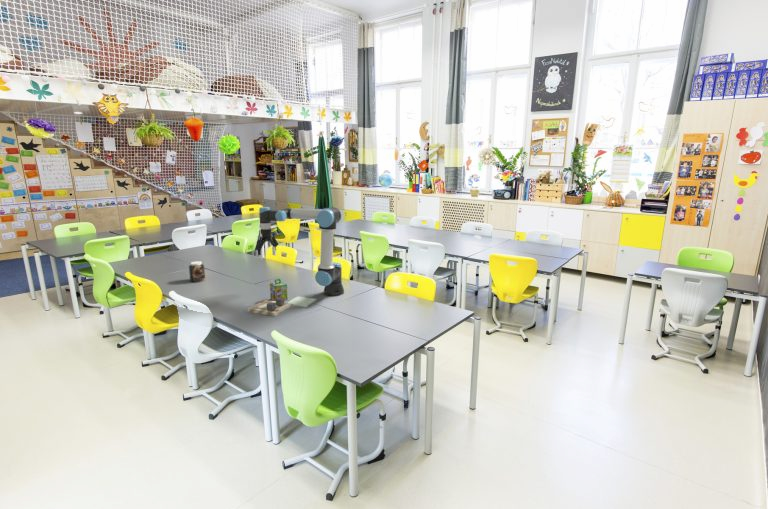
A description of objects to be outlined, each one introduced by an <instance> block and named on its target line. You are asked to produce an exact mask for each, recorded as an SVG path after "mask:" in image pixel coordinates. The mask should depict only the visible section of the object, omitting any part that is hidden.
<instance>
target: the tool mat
mask: <svg viewBox="0 0 768 509" xmlns="http://www.w3.org/2000/svg"><path fill="white" fill-rule="evenodd" d="M316 301H317V299H316V298H311V297H305V296H295V297H294V298H293V299H291V300H289V301H287V302H286V303H291V306H293V307H299V308H300V307H302V308H307V307H308V306H310V305H311V304H313V303H315V302H316Z"/></svg>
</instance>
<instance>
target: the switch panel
mask: <svg viewBox="0 0 768 509" xmlns="http://www.w3.org/2000/svg"><path fill="white" fill-rule="evenodd" d="M270 302H273V303H276V301H273V300H271V299H264V300H262V301H260V302H258V303H257V304H255V305H253V306H251V307H249V308H248V309H247V312H248V313H251V314H252V313H253V314H259V315H267V316H271V317H275V316H277V315H279V314H281V313H282V312H283V311H285V310H287V309H289V308H290V307H291V306H292V305H291V303H287V302H284V304H283V305H281V306H280V305H276V309H275V310H273V311H270V310H267V304H268V303H270Z"/></svg>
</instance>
